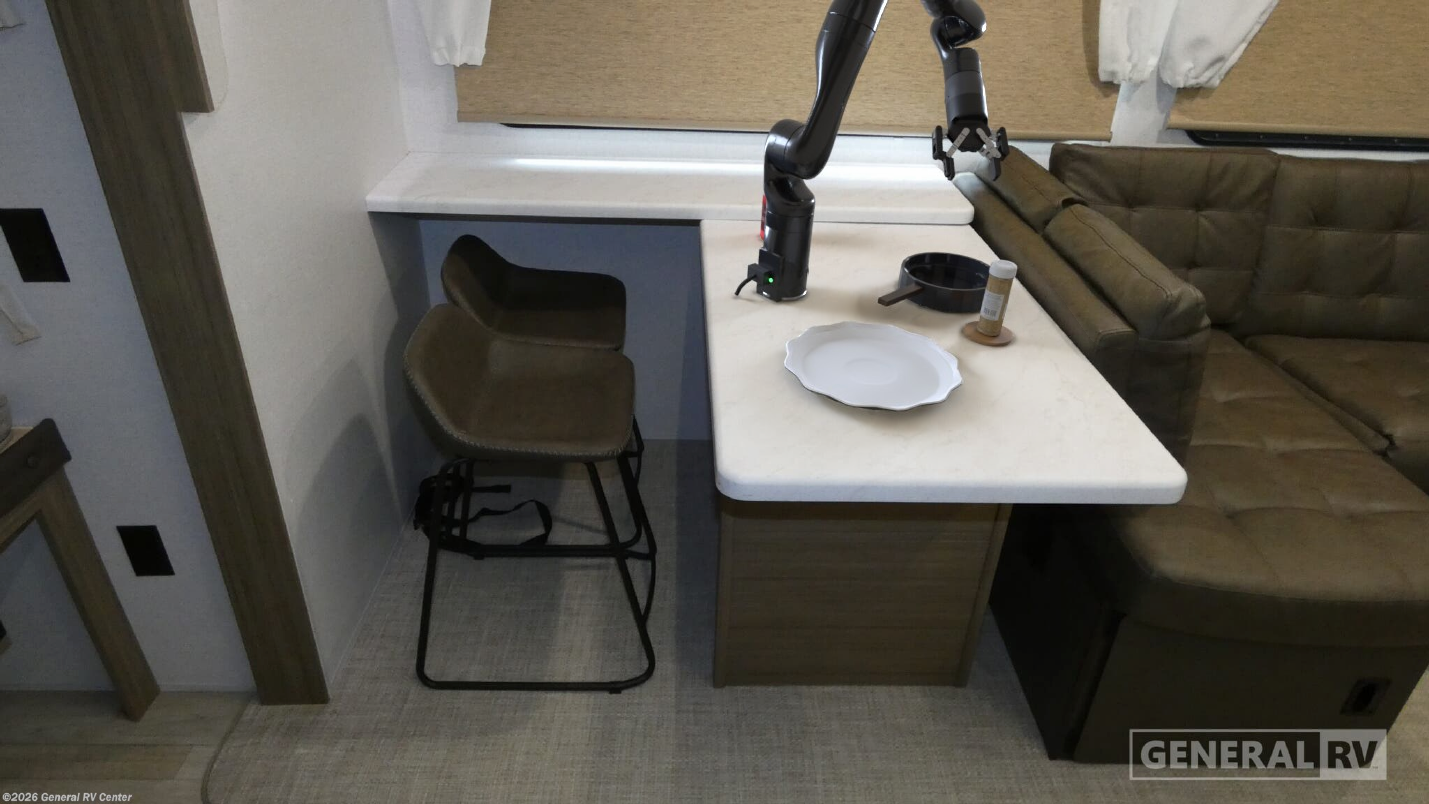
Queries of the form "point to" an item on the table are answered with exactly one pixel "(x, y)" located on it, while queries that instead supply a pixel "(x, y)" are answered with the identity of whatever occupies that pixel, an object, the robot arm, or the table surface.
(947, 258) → the pan
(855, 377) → the plate
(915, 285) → the pan handle
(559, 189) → the table surface
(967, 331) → the coaster
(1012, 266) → the sprinkles bottle
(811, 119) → the robot arm
